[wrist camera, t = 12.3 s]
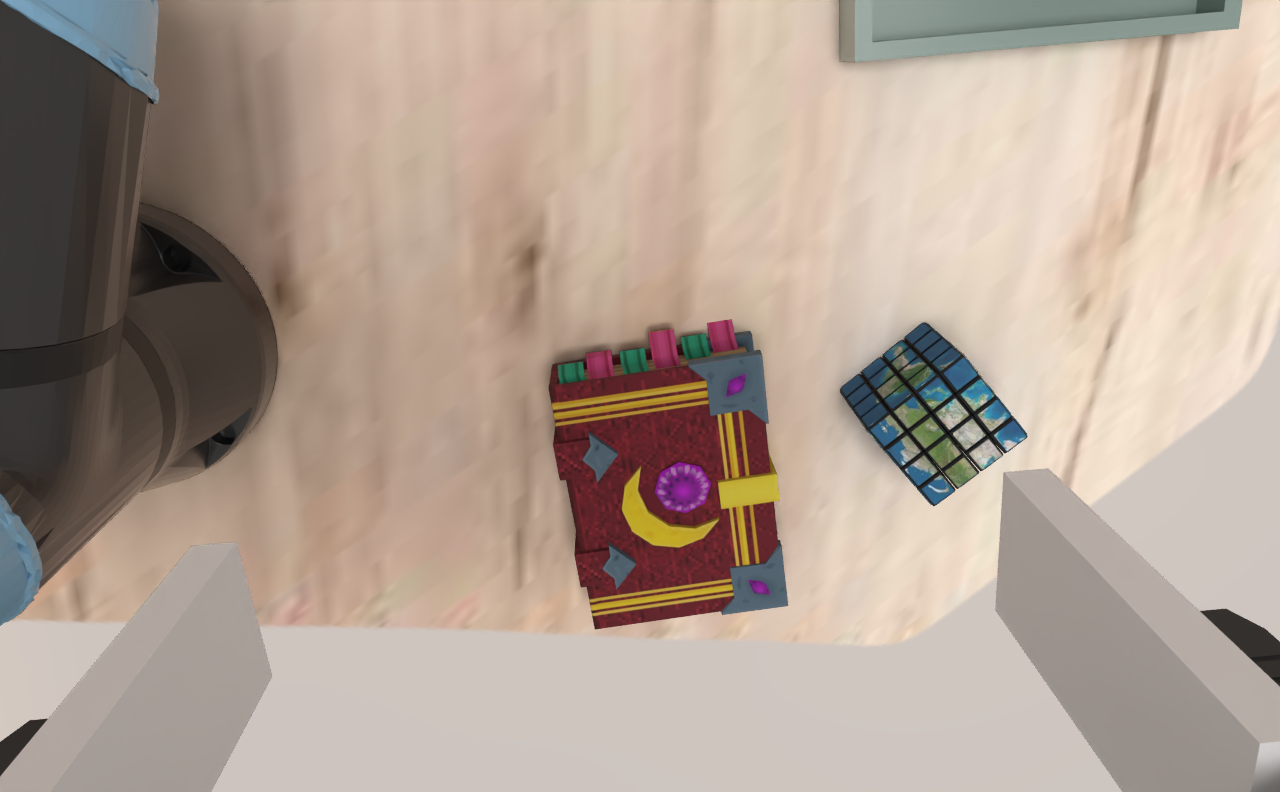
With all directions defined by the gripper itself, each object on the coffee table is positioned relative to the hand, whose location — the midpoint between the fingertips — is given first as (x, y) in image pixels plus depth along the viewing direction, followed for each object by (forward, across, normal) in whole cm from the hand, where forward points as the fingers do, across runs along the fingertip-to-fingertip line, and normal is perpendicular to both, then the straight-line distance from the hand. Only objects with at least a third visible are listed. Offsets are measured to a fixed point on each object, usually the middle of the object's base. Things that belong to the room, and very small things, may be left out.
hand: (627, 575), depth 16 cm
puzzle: (+35, +16, -11) cm, 40 cm away
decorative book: (+35, +2, -14) cm, 38 cm away
